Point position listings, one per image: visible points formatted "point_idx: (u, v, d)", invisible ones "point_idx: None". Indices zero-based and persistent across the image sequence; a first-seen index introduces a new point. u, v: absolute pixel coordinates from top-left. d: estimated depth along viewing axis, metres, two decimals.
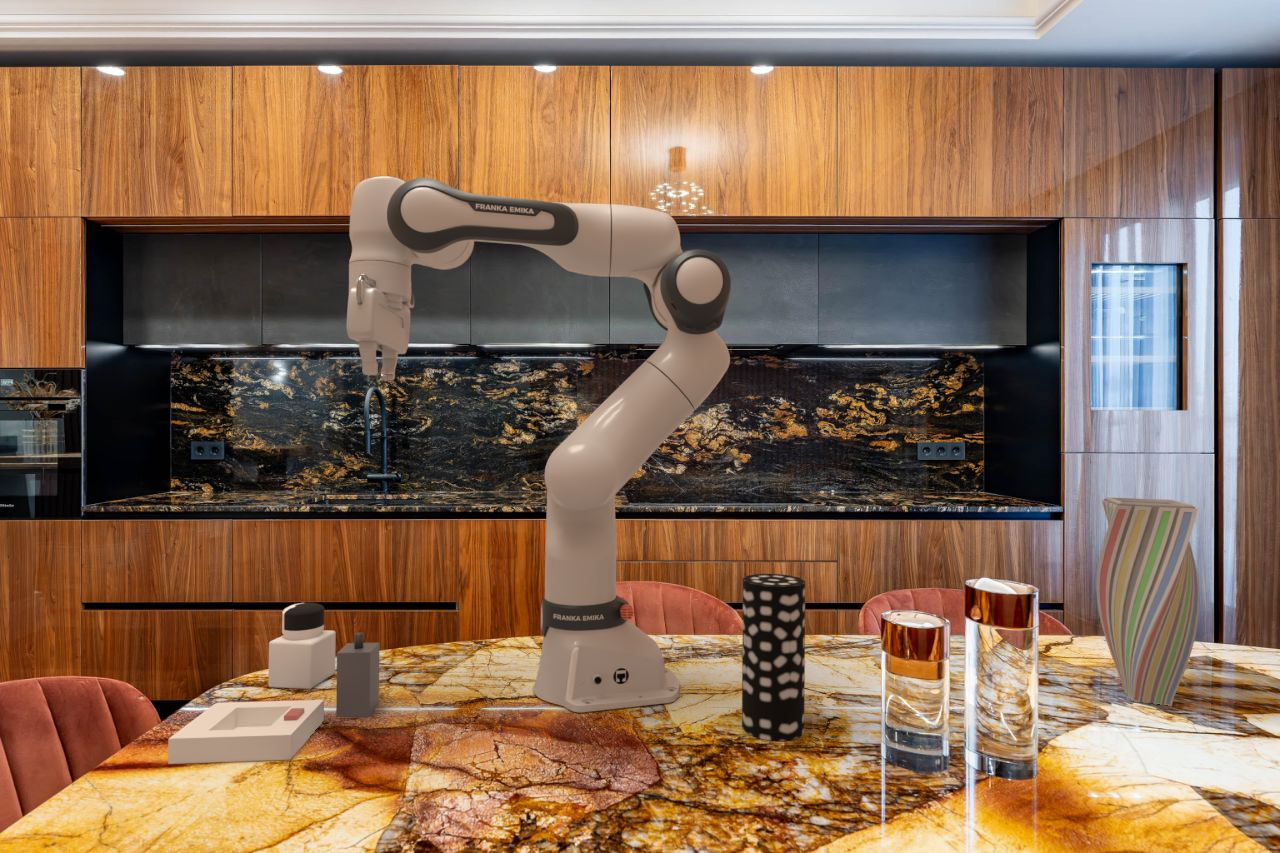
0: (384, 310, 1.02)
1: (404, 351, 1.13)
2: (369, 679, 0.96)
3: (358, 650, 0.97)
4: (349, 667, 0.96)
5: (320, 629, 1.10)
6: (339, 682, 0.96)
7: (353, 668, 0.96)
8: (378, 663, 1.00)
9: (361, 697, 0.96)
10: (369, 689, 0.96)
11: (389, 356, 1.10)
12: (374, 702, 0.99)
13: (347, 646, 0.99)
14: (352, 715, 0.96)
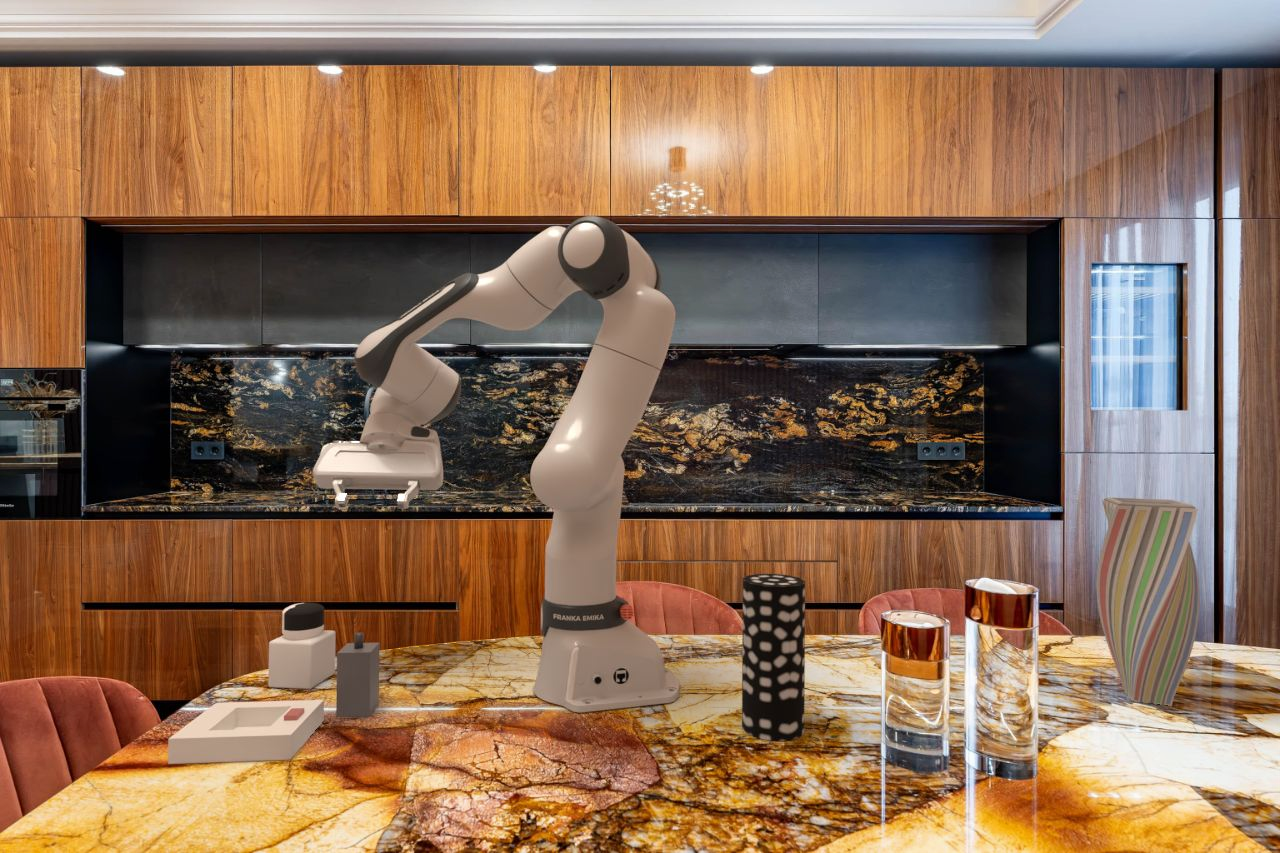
0: (363, 453, 1.15)
1: (427, 476, 1.13)
2: (369, 679, 0.96)
3: (358, 650, 0.97)
4: (349, 667, 0.96)
5: (320, 629, 1.10)
6: (339, 682, 0.96)
7: (353, 668, 0.96)
8: (378, 663, 1.00)
9: (361, 697, 0.96)
10: (369, 689, 0.96)
11: (409, 487, 1.13)
12: (374, 702, 0.99)
13: (347, 646, 0.99)
14: (352, 715, 0.96)
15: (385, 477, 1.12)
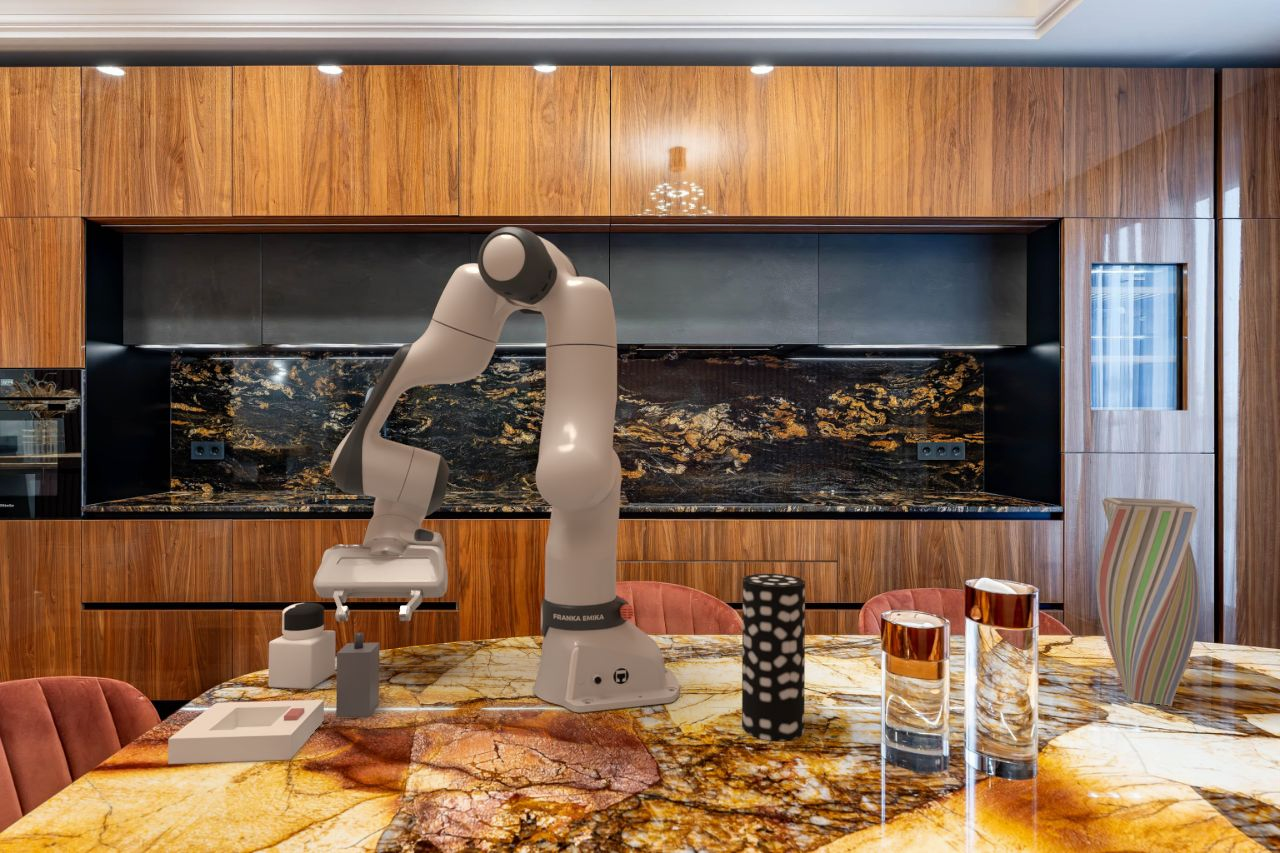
0: (365, 560, 1.11)
1: (430, 585, 1.09)
2: (368, 679, 0.96)
3: (358, 650, 0.97)
4: (349, 667, 0.96)
5: (320, 629, 1.10)
6: (339, 682, 0.96)
7: (352, 668, 0.96)
8: (378, 663, 1.00)
9: (361, 697, 0.96)
10: (369, 689, 0.96)
11: None
12: (374, 702, 0.99)
13: (347, 646, 0.99)
14: (352, 715, 0.96)
15: (387, 587, 1.08)
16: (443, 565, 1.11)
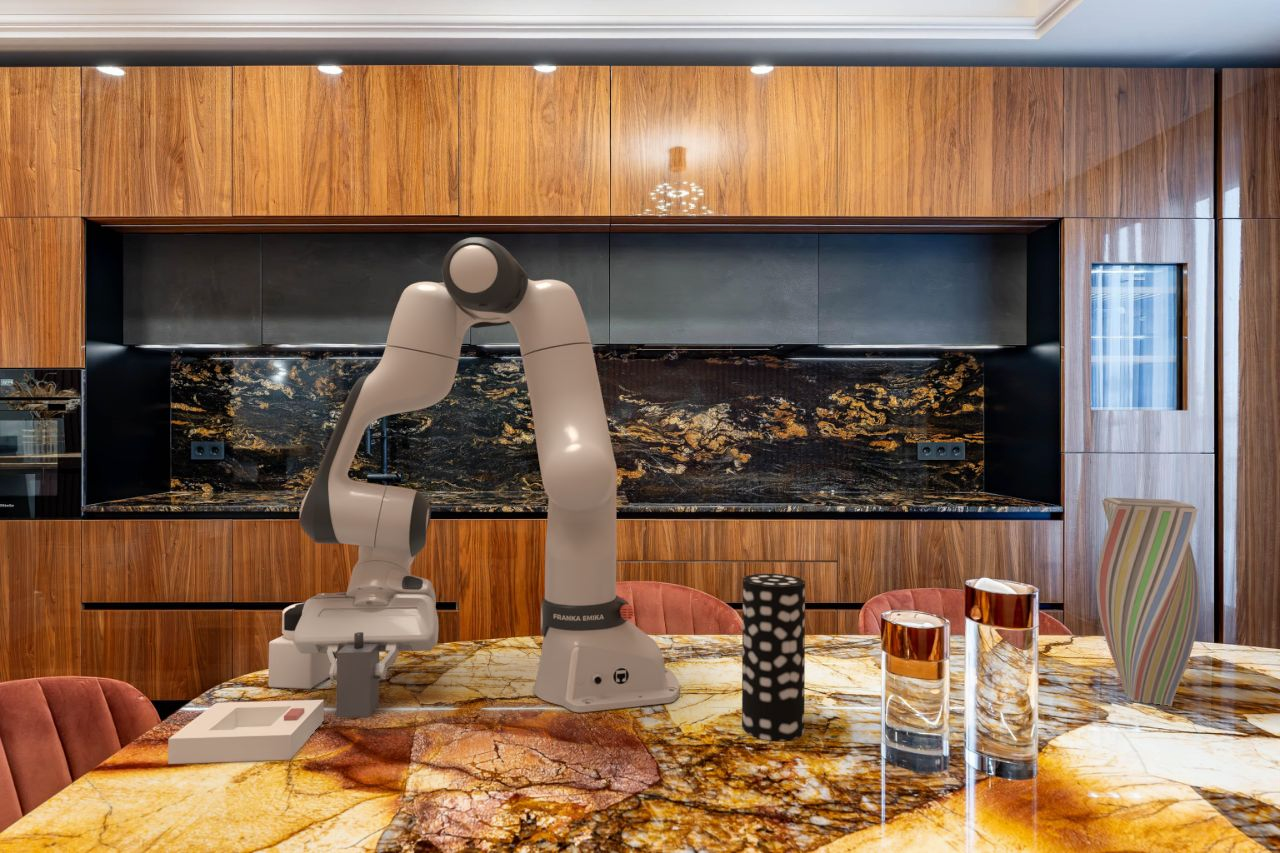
0: (349, 611, 1.03)
1: (419, 638, 1.01)
2: (369, 679, 0.96)
3: (358, 650, 0.97)
4: (349, 667, 0.96)
5: None
6: (339, 682, 0.96)
7: (353, 668, 0.96)
8: None
9: (361, 697, 0.96)
10: (369, 689, 0.96)
11: (387, 652, 1.01)
12: (374, 702, 0.99)
13: (347, 646, 0.99)
14: (352, 715, 0.96)
15: (373, 641, 1.00)
16: (433, 616, 1.03)
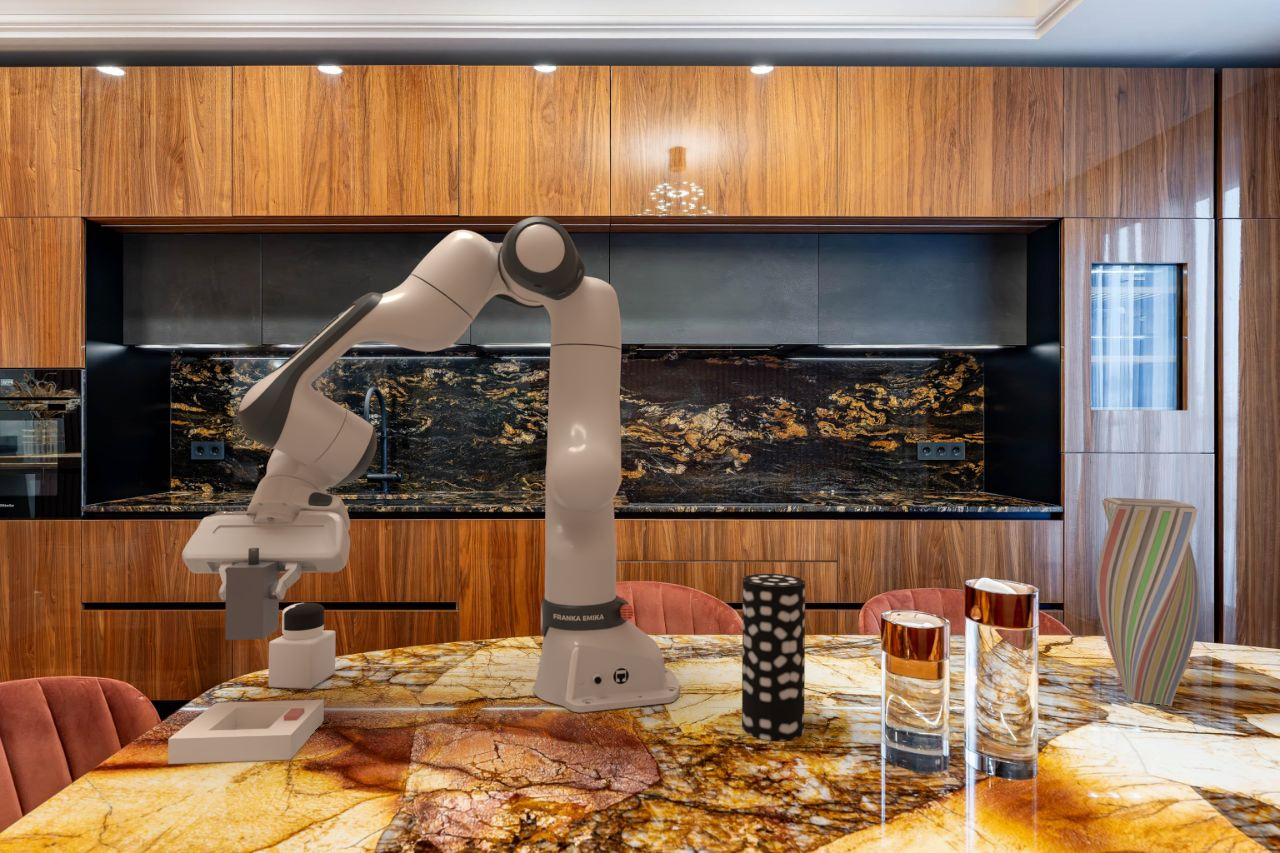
0: (248, 528, 0.94)
1: (323, 556, 0.91)
2: (262, 597, 0.87)
3: (251, 565, 0.87)
4: (240, 583, 0.86)
5: (320, 629, 1.10)
6: (229, 600, 0.86)
7: (244, 585, 0.86)
8: None
9: (254, 617, 0.86)
10: (262, 608, 0.87)
11: None
12: (271, 625, 0.89)
13: (241, 563, 0.89)
14: (243, 637, 0.86)
15: (271, 559, 0.90)
16: (341, 534, 0.93)
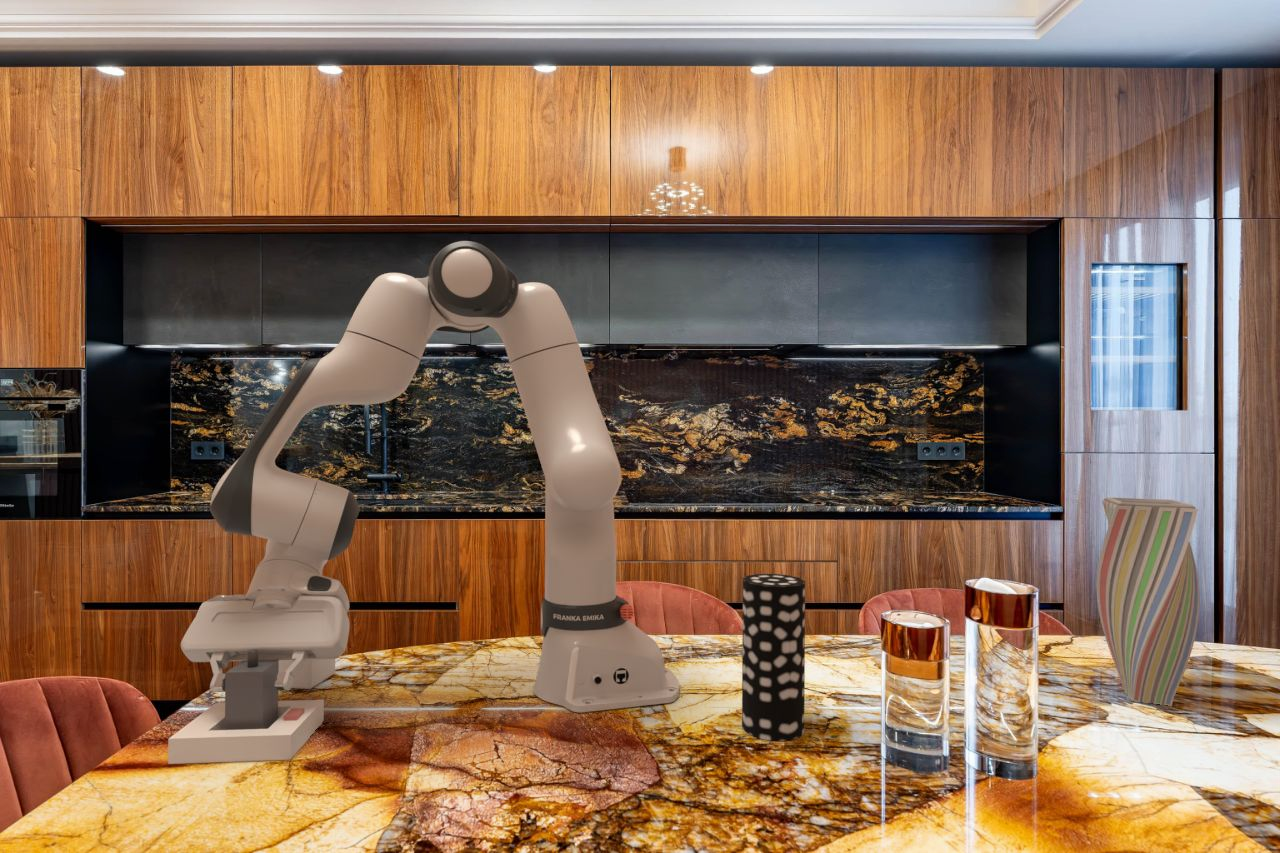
0: (247, 614, 0.93)
1: (322, 645, 0.91)
2: (261, 702, 0.86)
3: (250, 669, 0.87)
4: (239, 688, 0.86)
5: None
6: (228, 705, 0.86)
7: (243, 690, 0.86)
8: None
9: (253, 721, 0.86)
10: (262, 713, 0.86)
11: None
12: None
13: (240, 664, 0.89)
14: None
15: (270, 649, 0.90)
16: (340, 620, 0.93)
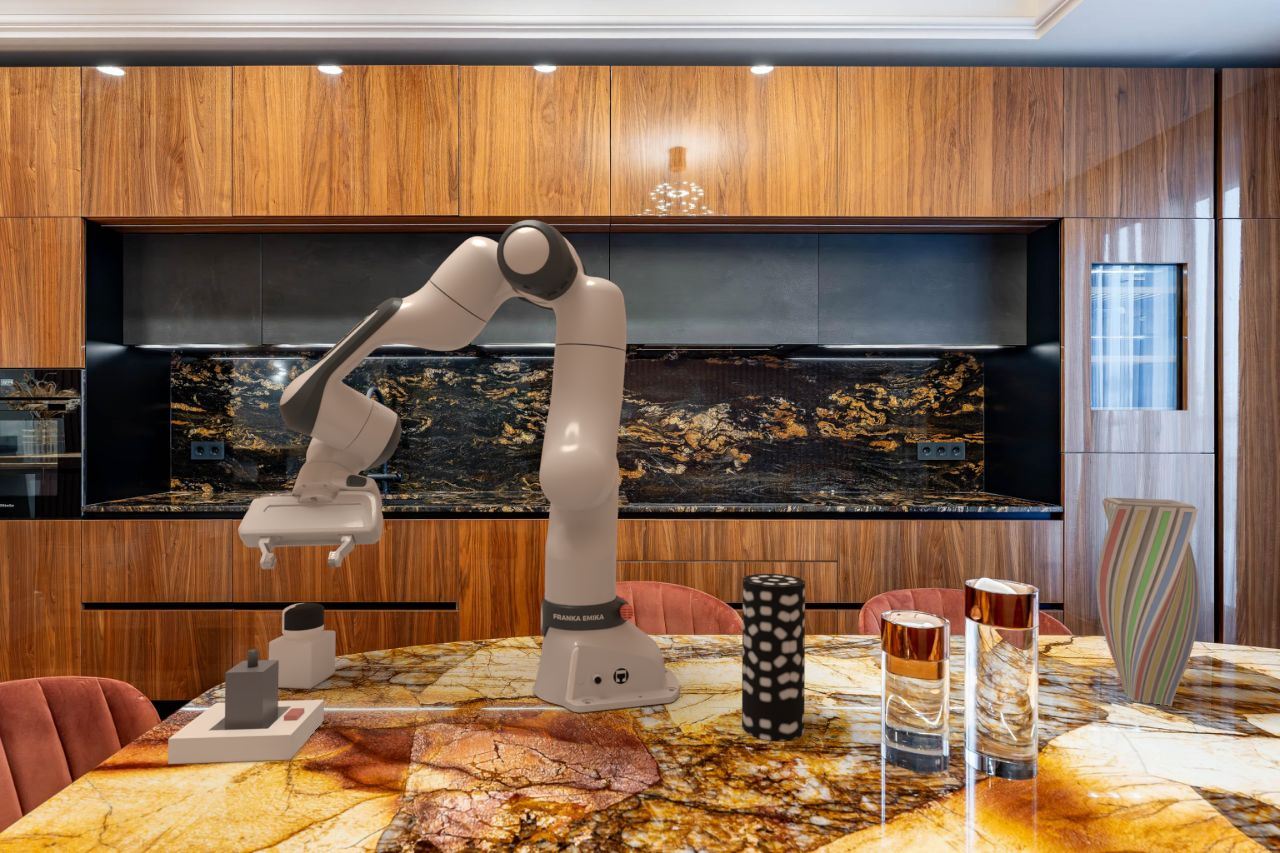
0: (294, 507, 1.06)
1: (361, 530, 1.04)
2: (261, 702, 0.86)
3: (250, 669, 0.87)
4: (239, 688, 0.86)
5: (320, 629, 1.10)
6: (228, 705, 0.86)
7: (243, 690, 0.86)
8: (277, 683, 0.91)
9: (253, 721, 0.86)
10: (262, 713, 0.86)
11: None
12: None
13: (240, 664, 0.89)
14: None
15: (316, 533, 1.03)
16: (376, 510, 1.06)
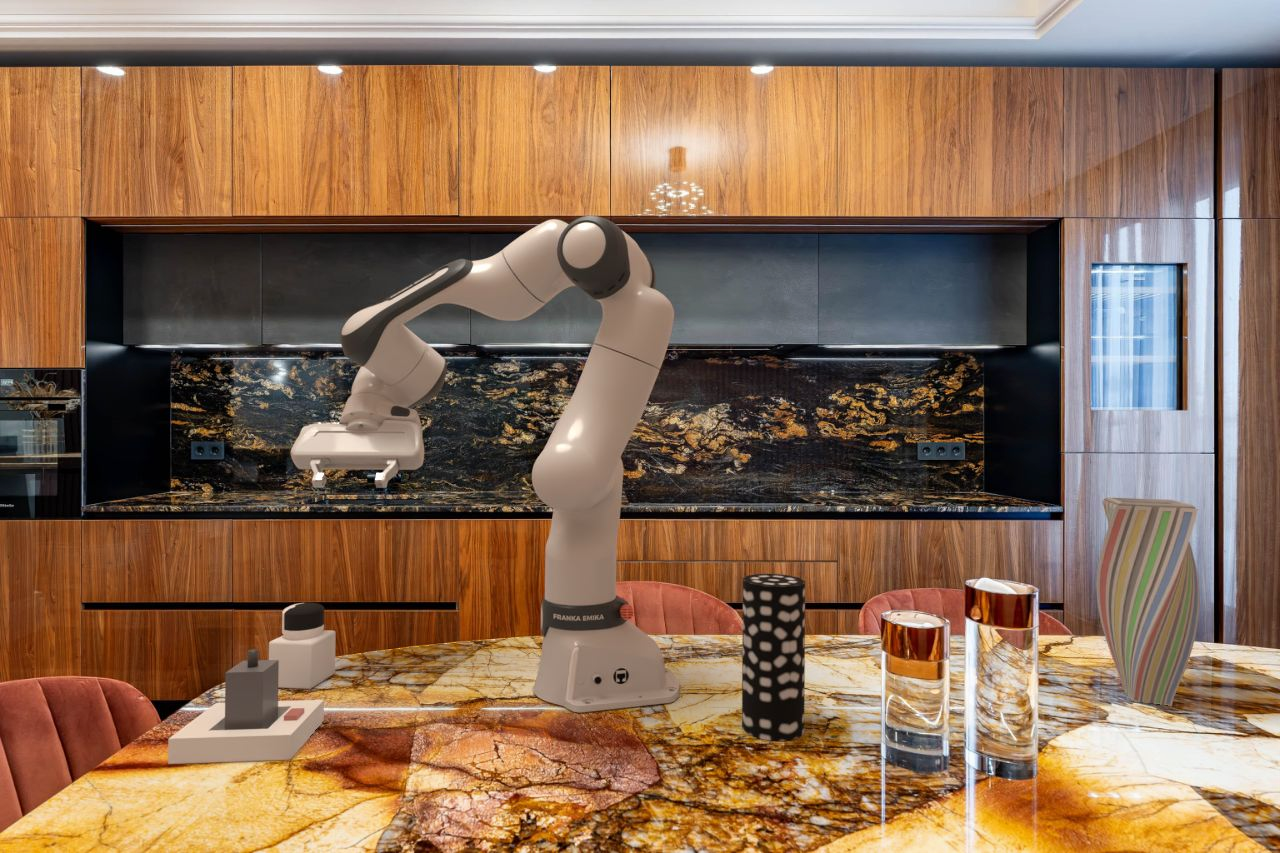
0: (342, 433, 1.13)
1: (406, 454, 1.11)
2: (261, 702, 0.86)
3: (250, 669, 0.87)
4: (239, 688, 0.86)
5: (320, 629, 1.10)
6: (228, 705, 0.86)
7: (243, 690, 0.86)
8: (277, 683, 0.91)
9: (253, 721, 0.86)
10: (262, 713, 0.86)
11: None
12: None
13: (240, 664, 0.89)
14: None
15: (363, 456, 1.10)
16: (419, 438, 1.13)
